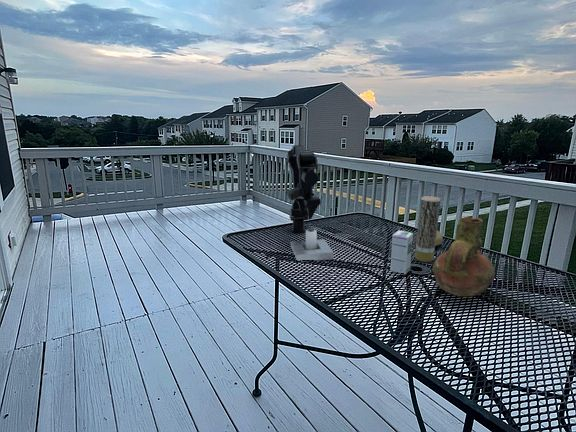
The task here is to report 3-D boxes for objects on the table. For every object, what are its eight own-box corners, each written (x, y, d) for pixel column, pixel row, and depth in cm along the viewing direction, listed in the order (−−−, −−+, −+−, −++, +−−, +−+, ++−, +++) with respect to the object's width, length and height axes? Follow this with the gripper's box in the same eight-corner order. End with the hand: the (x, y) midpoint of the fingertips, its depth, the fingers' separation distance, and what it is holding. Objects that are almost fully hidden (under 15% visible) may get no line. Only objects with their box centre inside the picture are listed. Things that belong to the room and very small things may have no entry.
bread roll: (408, 247, 141) (410, 230, 139) (425, 239, 150) (427, 223, 148) (430, 254, 134) (432, 236, 132) (446, 245, 143) (448, 228, 141)
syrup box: (405, 275, 116) (409, 237, 112) (389, 270, 119) (392, 233, 115) (410, 269, 120) (414, 232, 116) (394, 265, 124) (398, 229, 120)
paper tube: (429, 255, 132) (437, 196, 125) (435, 262, 125) (443, 200, 118) (412, 255, 133) (419, 196, 125) (417, 262, 126) (424, 200, 119)
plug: (306, 250, 139) (306, 226, 136) (317, 251, 138) (317, 227, 135) (304, 254, 135) (304, 229, 132) (315, 255, 134) (315, 230, 130)
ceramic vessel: (496, 282, 110) (510, 212, 103) (482, 318, 90) (497, 233, 83) (443, 269, 120) (451, 204, 113) (420, 298, 101) (428, 221, 94)
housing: (290, 247, 142) (290, 241, 141) (323, 245, 144) (324, 239, 143) (296, 261, 128) (296, 254, 127) (333, 259, 130) (333, 252, 129)
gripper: (281, 179, 145) (282, 212, 149) (295, 186, 128) (296, 224, 132) (304, 177, 148) (304, 210, 153) (321, 184, 131) (320, 221, 135)
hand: (305, 216), depth 143 cm, fingers open, 9 cm apart
